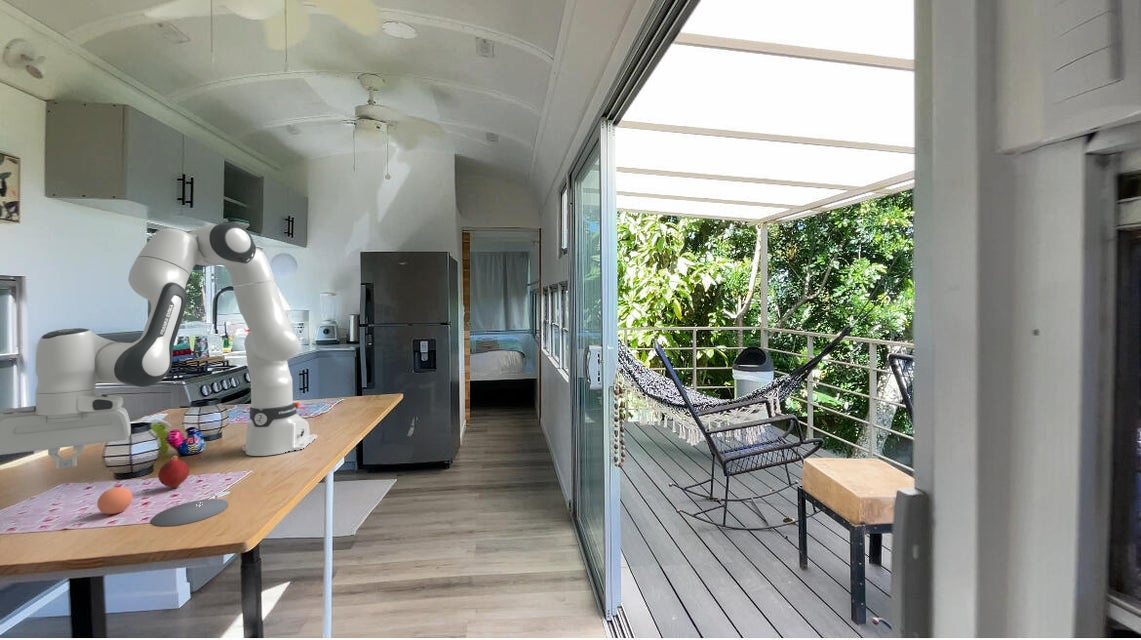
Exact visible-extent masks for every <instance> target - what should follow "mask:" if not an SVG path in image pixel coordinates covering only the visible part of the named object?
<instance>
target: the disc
mask: <svg viewBox="0 0 1141 640" xmlns="http://www.w3.org/2000/svg"><path fill="white" fill-rule="evenodd" d="M199 502H201V504H200V503H199ZM202 502H203V503H202ZM196 504H197V505H199V504H200V505H201V506H200V507H199V506H197V507H196ZM202 504H203V505H202ZM228 506H229V502H228V501H227V500H226V499H219V498H210V499H209V498H208V499H200V500H195V501H189V502H185V503H181V504H177V505H175V506H172V507H169V508H166V509H164V510H162V511H160V512H158V513H157V514H155V515H154V516H153V517H152V518H151V523H152V525H154V526H158V527H175V526H182V525H189V524H191V523H196V522H199V521H203V520H206V519H210V518H213V517H214V516H216V515H219V514H220V513H222V512H224V511H225V510H226V509H227V508H228Z"/></svg>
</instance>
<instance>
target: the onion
mask: <svg viewBox="0 0 1141 640" xmlns="http://www.w3.org/2000/svg"><path fill="white" fill-rule="evenodd" d="M178 458H179V457H178V456H177V455H173V456H172V457H171V458H170V459H169V460H168V461H167V462H166V463H164V464H163V465H162V466H161V468H160V469H159V472H158V480H159V482H160V483H161V484H162V485H163V486H166V487H168V488H171V489H177V488H178V487H179V486H180V485H181V484H182V483H183V482H185V481H186V479H188V476H189V475H190V466H189V465H188V464H187V463H186V462H185V461H183V460H181V459H178Z"/></svg>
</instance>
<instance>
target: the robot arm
mask: <svg viewBox="0 0 1141 640" xmlns="http://www.w3.org/2000/svg"><path fill="white" fill-rule="evenodd" d="M256 246H257V245H256V244H255V241H254V239H253V237H252V235H251V233H250V232H249V231H248V230H247V228H245V227H244V226H242V225H241V224H237V223H233V222H221V223H218V224H209V225H208V224H207V225H204V226H201V227H200V228H197V229H196V228H195V229H194V230H189V231H184V230H182V229H179V228H178V229H177V228H169V227H168V228H162V229H160V230H158V231H157V232H156V233H155V234H154V235H153V236H152V237H151V238H150V239H149V240H148V241H147V242H146V243H145V245H144V246H143V248H142V249H141V251H140V253H138V256H137V257H136V259H135V260H134V262H133V264H132V265H131V268H130V270H129V274H128V278H127V280H128V282H129V283H128V284H129V285H130V287H131V289H132V290H133V291H134V292H135V293H136V294H138V295H139V296H140V297H142V298H143V299H146V300H147V301H149V303H150V304H151V305H150V306H151V307H150V308H151V309H150V312H149V316H148V317H147V320H146V323H145V326H144V328H143V332H142V334H141V336H140V338H138V339H137V340H136V341H134V342H121V341H116V340H111V339H108V338H106V337H102V336H99V335H98V334H96V333H94V332H92V331H91V330H90V329H89V328H83V327H82V328H76V327H75V328H69V329H68V328H66V329H65V328H64V329H60V330H53V331H50V332H48V333H45V334H43V335H42V336H40V338H39V340H38V343H37V345H36V346H37V347H36V352H35V353H36V354H35V365H34V366H35V367H34V368H35V371H34V372H35V374H36V376H37V379H38V380H37V381H38V382H37V386H36V387H35V388H36V389H35V394H34V395H35V398H34V399H35V405H34V406H33V405H31V406H22V407H8V408H3V409H2V410H0V456H2V455H11V454H12V455H13V454H20V453H27V452H28V453H29V452H37V451H45V450H47V455H48V456H49V457H50V458H51V459H52V460H53V461H54V462H55V469H56V470H58V469H59V470H60V469H67V468H72V467H77V465H78V457H79V456H80V454H81V453H82V452H83V450H84V449H85V446H87V445H94V444H103V443H111V442H121V441H125V440H127V439H128V438H129V437H131V434H132V427H131V421H130V416H129V413H128V411H127V410H126V408H125V407H123V404H124V398H123V397H122V396H119V395H114V394H113V395H111V394H106V393H100V392H96V388H97V387H96V384H97V383H103V384H119V385H121V384H122V385H129V386H134V387H140V388H141V387H144V388H145V387H151V386H154V385H156V384H158V383H160V382H161V381H162V380H164V379H165V378H166V376H167V375H168V374H169V372H170V371H171V368H172V363H173V355H174V354H173V353H174V346H175V342H176V338H177V336H178V334H179V330H180V326H181V323H182V321H183V319H184V318H183V317H184V314H185V310H186V307H187V303H188V294H187V291H186V286H187V283H188V280H189V278H190V276H191V274H192V272H193V269H194V267H200V268H206V267H212V266H213V267H214V266H223V267H224V268H225V269H226V270H227V272H228V274H229V277H230V282H231V286H232V288H233V292H234V296H235V300H236V303H237V306H238V310H239V312H240V315H241V316H242V317H243V321H244V322H245V324H246V326H247V328H248V330H249V332H248V334H247V335H246V336H245V338H244V349H245V355H246V363H247V368H248V375H249V381H250V400H251V401H250V402H251V406H250V407H249V411H248V412H249V414H248V415H249V419H250V422H249V423H248V424H247V426H246V434H245V435H246V436H245V437H246V438H245V445H244V446H242V451H243V452H245V454H246V455H248V456H250V457H251V456H252V457H254V456H255V457H267V456H273V455H275V456H276V455H281V454H285V452H286V453H288V451H290V452H295V451H294V450H296V451H301V450H300V449H302V450H304V449H305V448H307V447H308V446H309V445H310V444H311V443H313V442H314V441H315V440H316V439H318V438H319V435H318V434H317V433H310V432H311V431H310V424H309V422H308V420H306V419H305V418H303V417H302V416H300V415H299V414H298V412H297V409H300V408H301V406H302V403H301V402H300V401H297V402H296V401H294V396H293V395H294V394H293V390H294V389H293V387H294V386H293V376H292V374H291V371H290V367H289V363H288V361H289V360H291V359H292V358H294V357H296V355H297V354H298V352H299V350H300V346H301V345H300V344H301V343H300V340H299V337H298V336H297V335H296V333H295V331H294V329H293V326H292V324H291V322H290V320H289V317H288V315H287V314H286V311H285V309H284V306H283V303H282V299H281V297H280V293H279V290H278V287H277V282H276V278H275V276H274V272H273V270H272V267H271V264H270V262H269V260H268V258H267V256H266V254H265V253H264V252H263V250H261V249H259V248H257V247H256ZM314 439H315V440H314ZM313 440H314V441H313ZM312 441H313V442H312ZM309 443H310V444H309ZM308 444H309V445H308ZM307 445H308V446H307ZM306 446H307V447H306ZM70 447H73V449H72V451H74V452H75V453H74V455H73V456H72V457H64V458H62V457H61V456H60V454H58V453H59V452H60V450H61V449H62V448H70ZM303 448H304V449H303Z"/></svg>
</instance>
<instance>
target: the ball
mask: <svg viewBox="0 0 1141 640" xmlns="http://www.w3.org/2000/svg"><path fill="white" fill-rule="evenodd" d="M132 502H133V493H132V491H131V490H130V489H128V488H126V487H122V486H118V487H116V486H115V487H112V488H109V489H107V490H105V491H104V492H103V493H101V495H100V496H99V497H98V499H97V508H98V511H100V512H101V513H103V514H107V515H115V514H118V513H121V512H122V511H125V510H127V508H128V507H129V506H130V505H131V504H132Z"/></svg>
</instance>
